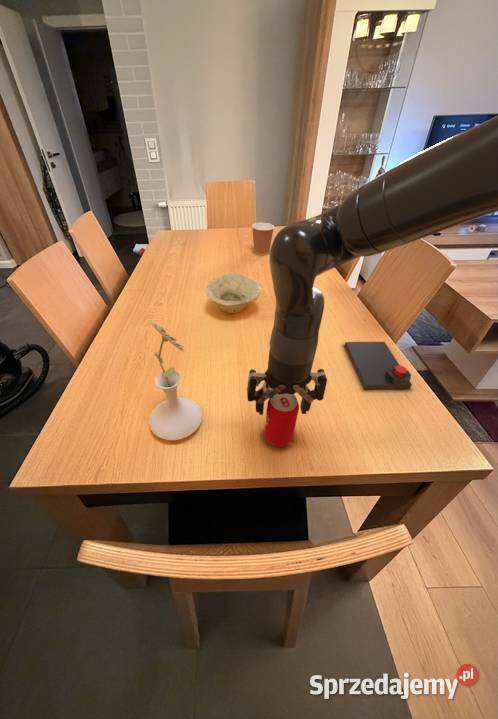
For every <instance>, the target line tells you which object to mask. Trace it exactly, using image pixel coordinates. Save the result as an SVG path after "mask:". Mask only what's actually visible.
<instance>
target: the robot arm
mask: <svg viewBox="0 0 498 719" xmlns="http://www.w3.org/2000/svg"><path fill="white" fill-rule="evenodd" d="M495 213H498V115H496V116H494V117H492V118H489V119H488V120H486V121H484V122H482V123H479V124H478V125H475V126H473V127H470V128H469V129H467V130H464V131H462V132H460V133H458V134H456V135H453V136H452V137H450V138H447V139H446V140H443V141H441V142H439V143H436V144H435V145H433V146H430V147H429V148H426V149H425V150H423V151H420V152H418V153H417V154H414V155H413V156H411V157H409V158H407V159H406V160H404V161H402V162H400V163H399V164H397V165H394V166H393V167H392V168H390V169H388V170H386V171H384V172H382V173H381V174H379V175H377V176H376V177H374V178H373V179H371V180H369V181H367V182H366V183H364V184H362V185H360V186H359V187H357V188H356V189H354V190H353V191H352V192H350V193H349V194H348V195H347V196H345V198H343V200H342V201H341V203H339V204H338V205H335V206H334V207H332V208H330V209H329V210H327V211H325V212H322V213H320V214H318V215H315V216H313V217H312V216H311V217H310V218H306V219H304V220H300V221H297V222H294V223H290V224H288V225H285V226H283V227H282V228H281V229H280V230H279V231H278V232H277V234H276V235H275V236H274V238H273V240H272V242H271V245H270V250H269V257H268V258H269V260H268V261H269V270H270V276H271V280H272V286H273V287H272V288H273V292H274V297H275V309H274V317H273V318H274V320H273V326H272V331H271V334H270V339H269V352H268V361H267V369H266V370H265V372H257V370H256V369H249V372H248V379H247V386H246V387H247V388H246V397H247V401H248V402H250V403H251V402H255V412H256V413H258V414H259V416H263V415H264V409H265V402H266V401H268V400H269V399H271V398H272V397H273V396H275V395H276V394H277V393H278V394H294V395H295V394H298V395H299V397H301V401H300V404H299V409H300V412H301V415H307V412H309V411H311V406H312V403H313V402H314V401H315V400H316V401H319V402H321V401H322V400H324V398H325V392H326V387H327V383H328V378H327V375H326V372H325V370H324V369H323V368H319V369H318V370H317V371H316V372H312V369H313V365H314V360H315V357H316V352H317V348H318V343H319V334H320V328H321V324H322V320H323V316H324V310H325V303H326V302H325V297H324V294H323V293H322V292H321V290H320V289H318V288H316V287H315V286H314V284H315V280H316V278H317V277H318V276H320V275H322V274H324V273H326V272H329V271H330V270H332V269H335V268H337V267H339V266H341V265H344V264H346V263H348V262H351V261H353V260H356V259H358V258H361V257H362V258H364V257H365V258H367V257H371V256H376V255H379V254H382V253H385V252H388V251H391V250H394V249H396V248H398V247H402V246H405V245H407V244H410V243H413V242H416V241H418V240H421V239H424V238H426V237H429V236H432V235H435V234H437V233H440V232H443V231H446V230H448V229H452V228H454V227H458V226H459V225H463V224H466V223H468V222H470V221H474V220H476V219H480V218H482V217H485V216H488V215H491V214H495ZM263 381H264V382H263ZM312 381H313V383H314V388H313V389H310V387H309V386H308V385H309V384H310V383H311V382H312ZM262 382H263V383H262ZM261 383H262V386H261V387H259V386H260V384H261ZM257 387H259V388H258V389H257Z"/></svg>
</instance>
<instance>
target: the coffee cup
mask: <svg viewBox="0 0 498 719" xmlns="http://www.w3.org/2000/svg"><path fill="white" fill-rule="evenodd" d="M251 227H252V240H253V252H254V253H255V254H256V255H261V256H264V255H267V254H270V250H271V246H272V241H273V240H272V239H273V234H274V229H275V225H274V224H272V223H270V222H255V223H252V225H251Z"/></svg>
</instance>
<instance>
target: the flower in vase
mask: <svg viewBox="0 0 498 719" xmlns="http://www.w3.org/2000/svg"><path fill="white" fill-rule="evenodd" d="M149 323H150V324H151V326H152V327H153V328H154V329H155V330H156V331H157V332H158V333H159V334H160V335H161V342H160V346H159V350H158V353H157V352H156V351H155V352H154V356H155V357H156V359H157V360H158V362H159V365H160V367H161V370H162V371H161V372H160V373H158V374H157V375H156V376H155V378H154V384H155V385H156V387H157V388H160V389H161V390H162V391H163V393H164V396H165V398H166V399H165V400H163V401H161V402H160V403H158V404H157V405H156V406H155V407H154V408H153V410H152V412H151V413H150V416H149V422H148V423H149V428H150V430H151V432H152V433H153V434H154V435H155V436H157V437H158V438H160V439H163V440H165V441H166V440H167V441H178V440H182V439H185V438H188V436H190V435H192V434H193V433H195V432H196V430H198V429H199V427H200V425H201V423H202V421H203V413H202V409H201V408H200V406H199V404H197V403H196V402H195V401H194V400H193V399H191V398H187V397H183V396H178V386H179V384H180V383H181V381H182V375H181V374H180V372H178V371H175V370H176V369H175V367H169V368H168V369H166V370H165V368H164V366H163V364H164V360H163V358H162V357H161V354H162V350H163V345H164V342H165V343H166V342H169V343H170V344H172V346H174V347H175V348H177V349H178V350H179V351H181V352H184V351H185V349H184V345H183V344H181V343H180V342H178V341H177V339H176V337H174V336H173V335H170V333H168V332H167V330H166V329H165V328H164V327H163V326H161V325H159V323H158V322H157V321H156V320H151V319H150V321H149Z"/></svg>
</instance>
